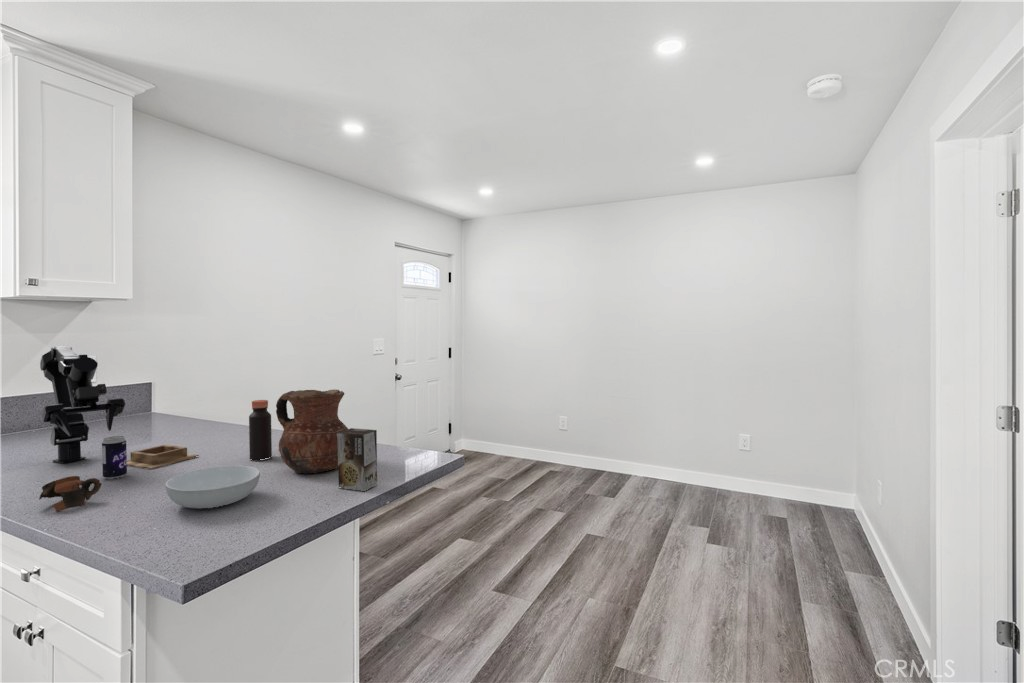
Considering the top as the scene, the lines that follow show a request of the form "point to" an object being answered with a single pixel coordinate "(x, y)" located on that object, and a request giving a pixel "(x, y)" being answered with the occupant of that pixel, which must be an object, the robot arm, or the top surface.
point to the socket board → (158, 456)
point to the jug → (310, 430)
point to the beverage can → (114, 457)
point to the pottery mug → (70, 491)
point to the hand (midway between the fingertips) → (90, 432)
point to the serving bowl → (212, 486)
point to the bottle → (260, 431)
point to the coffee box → (357, 459)
